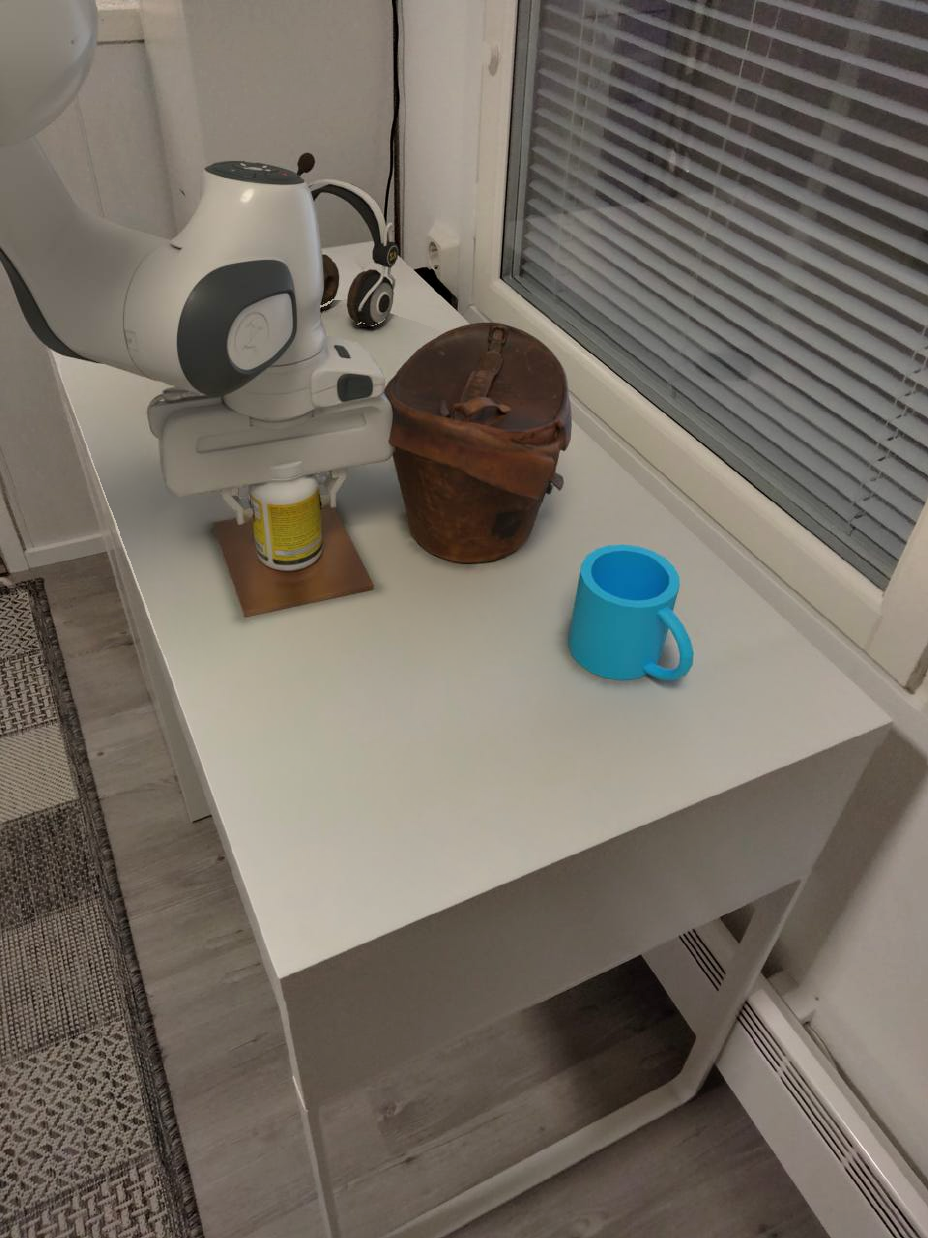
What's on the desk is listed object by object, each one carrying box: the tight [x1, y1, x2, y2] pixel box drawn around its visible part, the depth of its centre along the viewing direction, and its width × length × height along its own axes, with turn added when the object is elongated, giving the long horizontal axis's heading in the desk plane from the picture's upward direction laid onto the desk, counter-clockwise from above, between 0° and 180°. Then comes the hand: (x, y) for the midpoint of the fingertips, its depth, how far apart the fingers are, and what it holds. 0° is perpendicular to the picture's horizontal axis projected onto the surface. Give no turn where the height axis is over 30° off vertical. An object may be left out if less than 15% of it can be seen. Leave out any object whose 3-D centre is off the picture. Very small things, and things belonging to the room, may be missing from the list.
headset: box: [296, 152, 399, 328], centre depth 123 cm, size 17×8×20 cm, turn 59°
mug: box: [567, 543, 695, 681], centre depth 79 cm, size 12×8×8 cm
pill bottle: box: [247, 461, 322, 571], centre depth 86 cm, size 6×6×11 cm
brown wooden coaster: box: [211, 507, 375, 618], centre depth 90 cm, size 12×14×1 cm
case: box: [384, 322, 573, 564], centre depth 89 cm, size 18×20×18 cm
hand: (286, 512), depth 86 cm, fingers closed on pill bottle, 6 cm apart
